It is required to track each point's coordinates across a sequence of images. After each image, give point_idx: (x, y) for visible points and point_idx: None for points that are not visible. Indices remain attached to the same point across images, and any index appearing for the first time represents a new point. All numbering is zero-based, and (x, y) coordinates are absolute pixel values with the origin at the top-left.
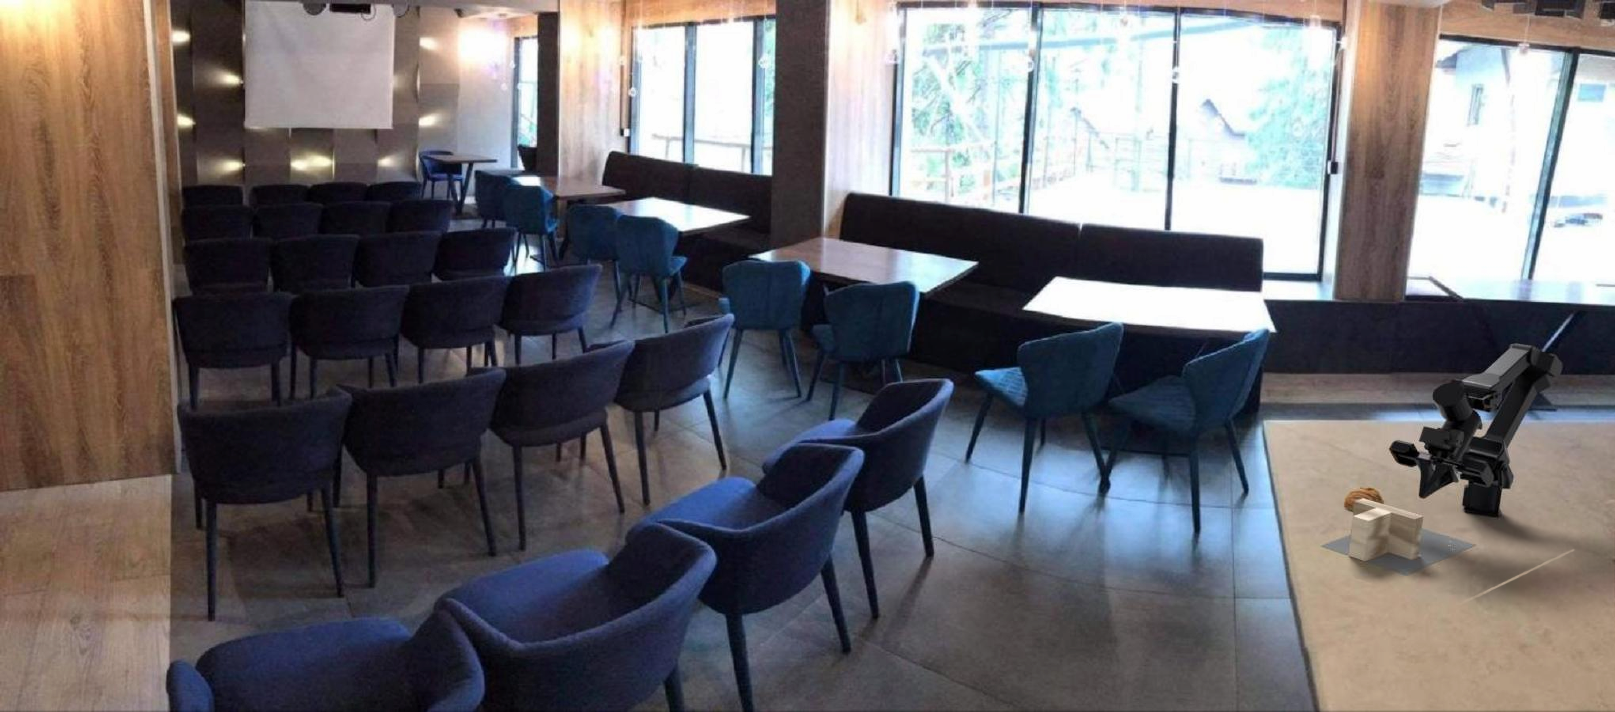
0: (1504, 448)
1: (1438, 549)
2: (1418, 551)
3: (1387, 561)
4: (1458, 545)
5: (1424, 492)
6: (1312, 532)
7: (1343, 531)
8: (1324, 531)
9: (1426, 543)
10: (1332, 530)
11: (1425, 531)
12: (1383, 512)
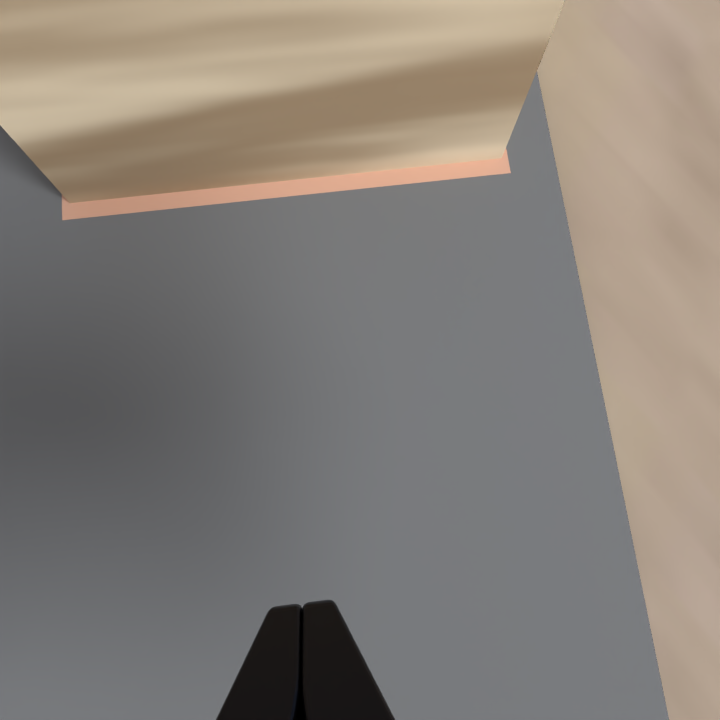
0: None
1: (52, 431)
2: (56, 182)
3: None
4: (5, 659)
5: (262, 655)
6: (704, 10)
7: (639, 190)
8: (688, 85)
9: (171, 464)
10: (682, 142)
11: None
12: None
